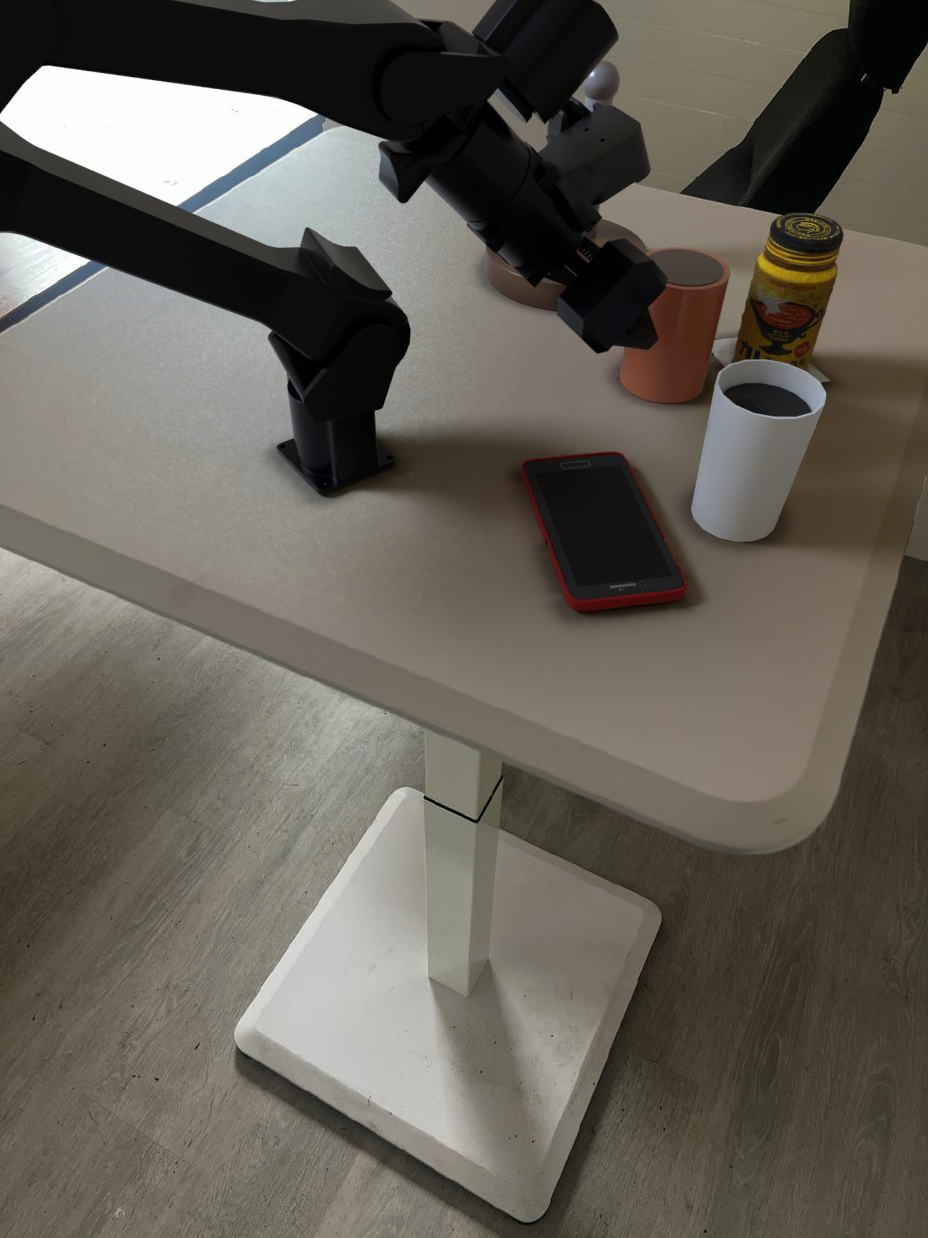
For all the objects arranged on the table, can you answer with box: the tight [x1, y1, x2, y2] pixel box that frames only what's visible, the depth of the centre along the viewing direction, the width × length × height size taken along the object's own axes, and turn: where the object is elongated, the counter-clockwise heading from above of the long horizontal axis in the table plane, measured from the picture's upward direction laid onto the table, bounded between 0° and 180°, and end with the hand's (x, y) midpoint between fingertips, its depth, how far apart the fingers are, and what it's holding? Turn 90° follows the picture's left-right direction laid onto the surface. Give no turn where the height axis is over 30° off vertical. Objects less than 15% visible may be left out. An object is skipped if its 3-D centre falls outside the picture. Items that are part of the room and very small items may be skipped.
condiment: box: [712, 211, 844, 384], centre depth 74 cm, size 7×8×12 cm
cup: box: [619, 246, 731, 404], centre depth 72 cm, size 7×7×10 cm
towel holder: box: [484, 59, 648, 312], centre depth 82 cm, size 15×15×17 cm
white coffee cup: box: [690, 359, 827, 543], centre depth 61 cm, size 7×7×10 cm
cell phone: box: [520, 450, 688, 612], centre depth 62 cm, size 8×15×1 cm, turn 10°
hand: (619, 313), depth 69 cm, fingers open, 9 cm apart
